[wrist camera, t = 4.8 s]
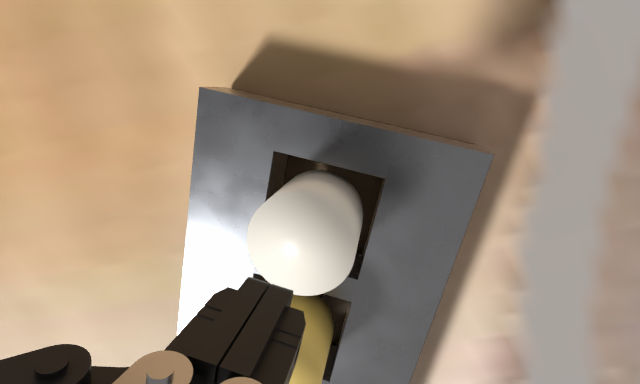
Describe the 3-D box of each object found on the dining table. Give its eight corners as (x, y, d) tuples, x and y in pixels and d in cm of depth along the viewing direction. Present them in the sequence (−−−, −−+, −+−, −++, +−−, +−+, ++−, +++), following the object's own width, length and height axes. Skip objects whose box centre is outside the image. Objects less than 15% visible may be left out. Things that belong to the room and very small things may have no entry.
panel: (191, 400, 27) (167, 436, 24) (227, 87, 20) (199, 87, 17) (365, 462, 25) (362, 509, 22) (477, 145, 18) (493, 155, 15)
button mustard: (253, 340, 21) (222, 396, 17) (264, 276, 20) (233, 322, 16) (325, 363, 21) (309, 427, 17) (342, 299, 19) (329, 353, 15)
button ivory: (271, 239, 19) (240, 278, 15) (285, 160, 18) (254, 179, 14) (352, 262, 19) (341, 309, 15) (373, 182, 17) (368, 209, 13)
